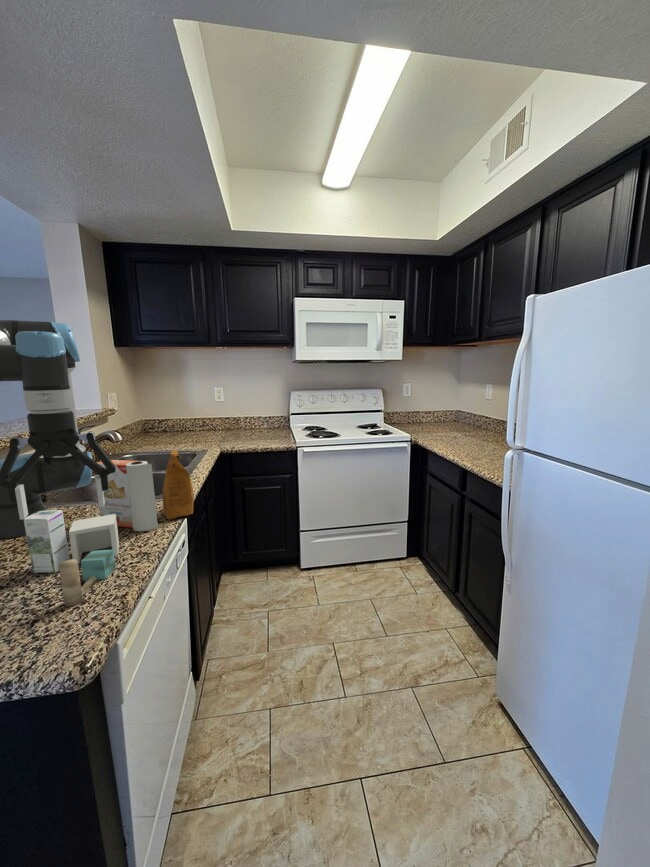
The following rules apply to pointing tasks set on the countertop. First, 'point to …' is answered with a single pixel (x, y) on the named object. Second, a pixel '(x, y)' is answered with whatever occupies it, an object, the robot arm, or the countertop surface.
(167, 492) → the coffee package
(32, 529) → the syrup box
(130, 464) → the paper towel roll
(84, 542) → the cubby
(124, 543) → the countertop surface
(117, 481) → the cracker box
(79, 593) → the tethered block
